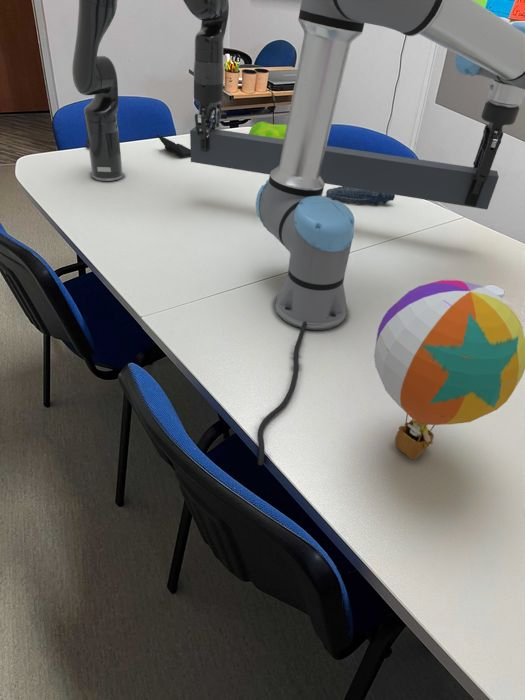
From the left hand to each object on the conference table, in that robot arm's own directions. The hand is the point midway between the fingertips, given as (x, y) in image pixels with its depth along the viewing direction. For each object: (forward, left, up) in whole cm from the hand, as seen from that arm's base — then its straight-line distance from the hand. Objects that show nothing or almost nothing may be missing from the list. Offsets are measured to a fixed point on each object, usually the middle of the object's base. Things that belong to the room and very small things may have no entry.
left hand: (207, 148), depth 142 cm
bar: (+29, +21, -3) cm, 36 cm away
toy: (+95, -26, -16) cm, 100 cm away
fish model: (+21, +43, -16) cm, 50 cm away
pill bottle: (+82, +15, -16) cm, 85 cm away
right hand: (+57, +41, -2) cm, 71 cm away
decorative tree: (-27, +41, -16) cm, 52 cm away
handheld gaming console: (-42, +16, -16) cm, 47 cm away
